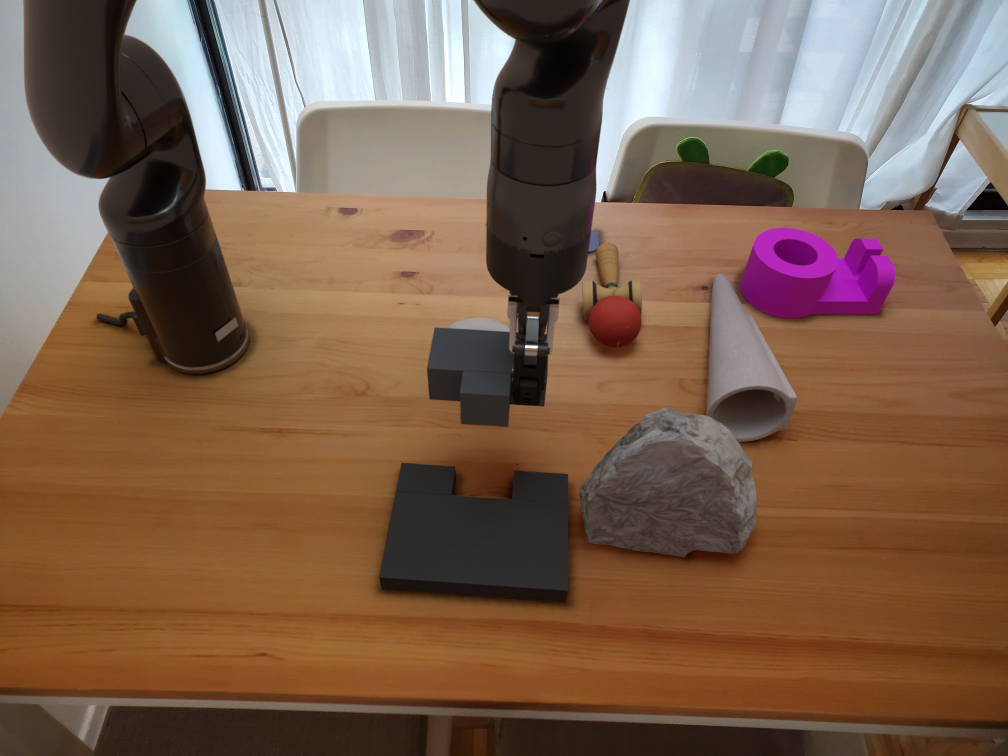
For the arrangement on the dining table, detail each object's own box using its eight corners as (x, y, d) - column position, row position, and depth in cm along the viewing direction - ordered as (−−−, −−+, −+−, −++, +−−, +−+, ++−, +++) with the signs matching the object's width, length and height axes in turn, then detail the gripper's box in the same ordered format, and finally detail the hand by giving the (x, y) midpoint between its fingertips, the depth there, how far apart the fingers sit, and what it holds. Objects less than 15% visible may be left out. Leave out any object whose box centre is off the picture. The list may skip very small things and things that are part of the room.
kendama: (569, 269, 95) (574, 351, 81) (582, 226, 91) (590, 305, 77) (625, 280, 96) (640, 363, 82) (640, 239, 92) (659, 319, 78)
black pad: (381, 589, 62) (378, 577, 61) (403, 475, 71) (401, 462, 69) (565, 602, 62) (567, 590, 60) (566, 486, 70) (568, 473, 69)
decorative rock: (572, 548, 66) (591, 447, 55) (577, 487, 70) (595, 384, 59) (754, 573, 64) (811, 475, 53) (747, 510, 69) (798, 408, 58)
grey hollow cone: (664, 249, 89) (714, 385, 69) (733, 248, 89) (803, 385, 70) (655, 301, 94) (699, 442, 74) (721, 300, 94) (782, 441, 75)
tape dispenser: (751, 318, 88) (766, 278, 83) (731, 267, 94) (744, 227, 90) (879, 318, 88) (902, 278, 84) (851, 267, 95) (870, 228, 90)
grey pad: (425, 422, 61) (422, 390, 58) (436, 358, 66) (434, 326, 63) (543, 429, 60) (547, 398, 57) (545, 365, 66) (548, 333, 63)
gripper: (493, 159, 56) (491, 320, 68) (477, 276, 46) (478, 440, 58) (590, 164, 56) (570, 325, 68) (595, 283, 46) (570, 446, 58)
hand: (528, 377), depth 63 cm, fingers closed on grey pad, 5 cm apart
